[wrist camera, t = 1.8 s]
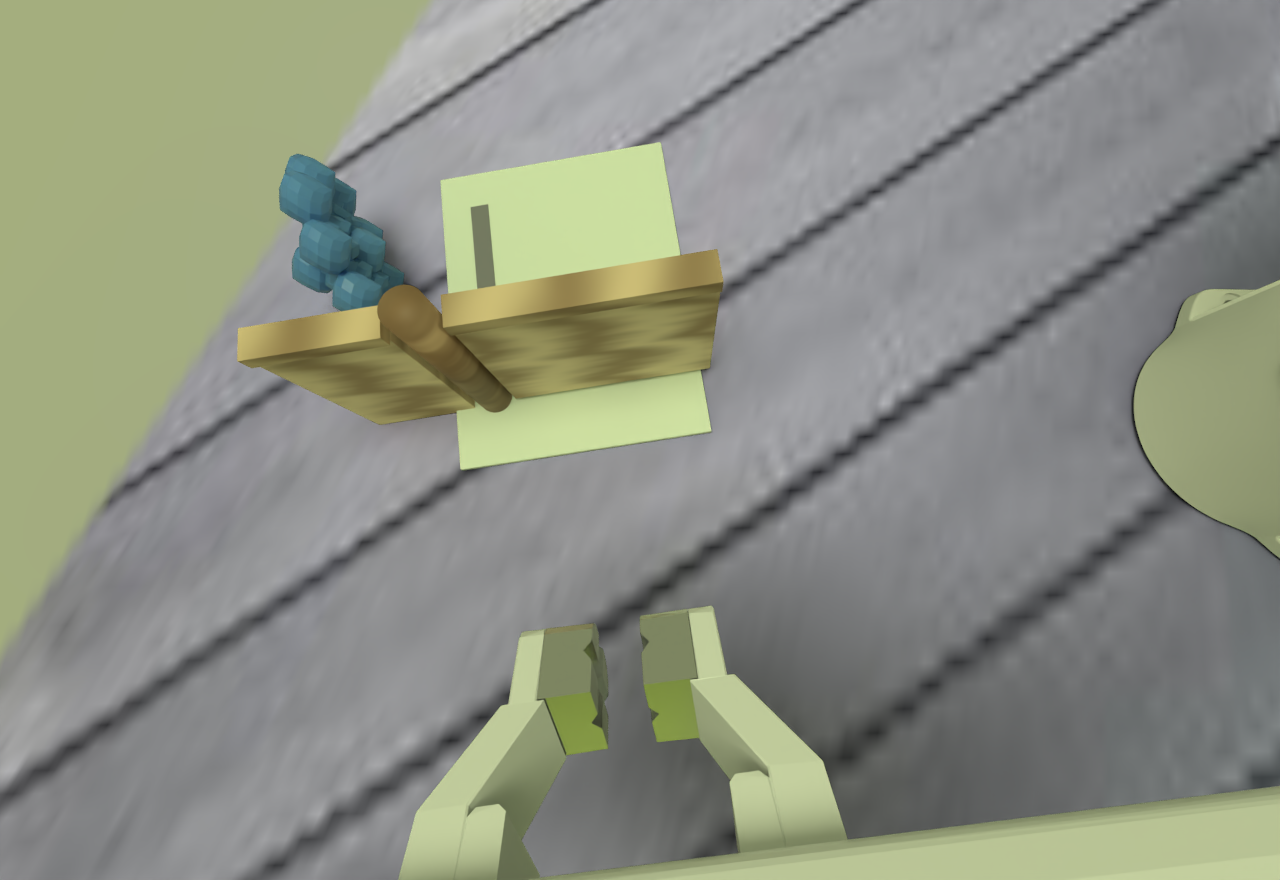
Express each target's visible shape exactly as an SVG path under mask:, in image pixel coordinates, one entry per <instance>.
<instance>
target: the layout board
mask: <svg viewBox="0 0 1280 880" xmlns="http://www.w3.org/2000/svg"><path fill="white" fill-rule="evenodd" d="M441 194H442V209H443V223H444V238H445V252H446V266H447V281H448V294H449V293H455V292H461V291H467V290H473V289H479V288H485V287H491V286H497V285H503V284H509V283H515V282H522V281H528V280H534V279H540V278H546V277H552V276H558V275H564V274H570V273H576V272H582V271H588V270H594V269H600V268H606V267H612V266H618V265H624V264H630V263H636V262H642V261H648V260H654V259H660V258H666V257H672V256H679V255H680V250H679V244H678V238H677V233H676V227H675V221H674V216H673V210H672V204H671V199H670V193H669V187H668V182H667V176H666V170H665V164H664V159H663V153H662V147H661V142H659V143H654V144H648V145H642V146H636V147H631V148H625V149H619V150H613V151H607V152H602V153H596V154H590V155H584V156H579V157H573V158H567V159H561V160H555V161H550V162H544V163H538V164H532V165H527V166H521V167H515V168H509V169H503V170H498V171H492V172H486V173H480V174H475V175H469V176H463V177H457V178H451V179H446V180H441ZM457 424H458V439H459V453H460V468H461V470H470V469H476V468H483V467H489V466H496V465H502V464H509V463H515V462H522V461H528V460H535V459H541V458H548V457H554V456H561V455H567V454H574V453H580V452H587V451H593V450H600V449H606V448H613V447H619V446H626V445H632V444H639V443H645V442H652V441H658V440H665V439H671V438H678V437H684V436H691V435H697V434H704V433H710V432H711V426H710V421H709V415H708V409H707V404H706V398H705V392H704V386H703V381H702V375H701V370H695V371H688V372H682V373H676V374H669V375H663V376H657V377H650V378H644V379H638V380H631V381H625V382H619V383H612V384H606V385H600V386H593V387H587V388H581V389H574V390H568V391H562V392H555V393H549V394H543V395H536V396H530V397H524V398H517V399H516V398H515V397H514V396H513V395H512V400H511V403H510V405H509V406H508V407H507V408H506V409H505V410H503V411H501V412H496V413H493V412H489V411H487V410H486V409H484V408H483V407H482V406H481V405H479V404H478V403H477V402H476V401H475V408H472V409H465V410H459V411H457Z"/></svg>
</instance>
